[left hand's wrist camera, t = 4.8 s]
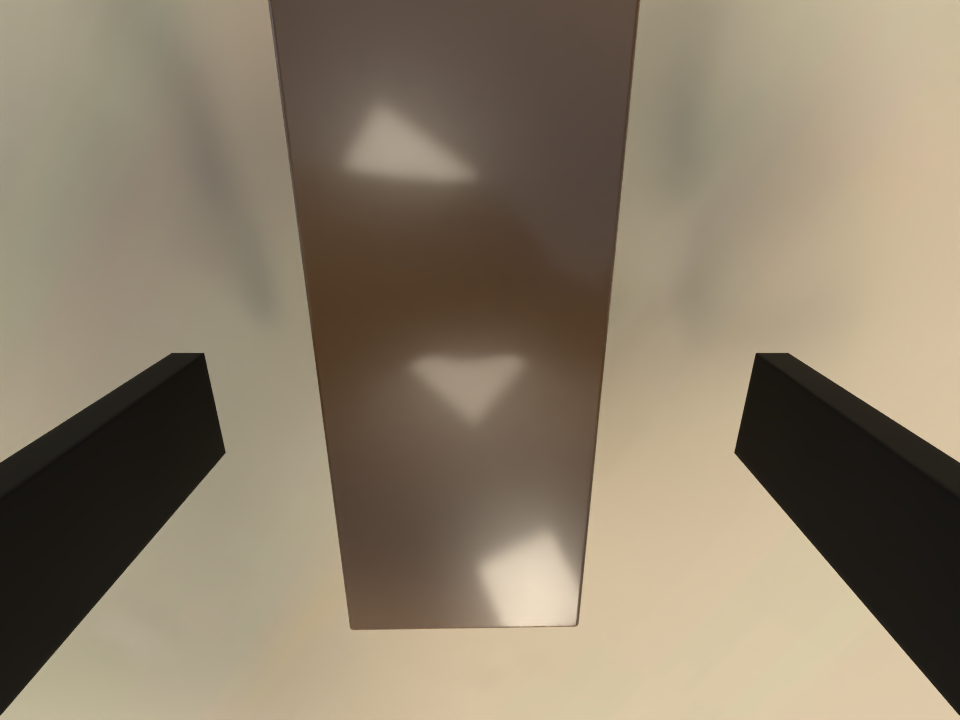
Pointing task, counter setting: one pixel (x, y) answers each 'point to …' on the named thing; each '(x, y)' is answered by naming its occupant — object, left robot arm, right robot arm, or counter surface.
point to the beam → (458, 288)
